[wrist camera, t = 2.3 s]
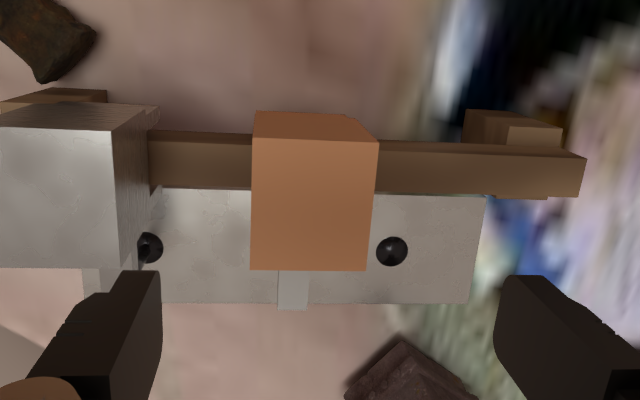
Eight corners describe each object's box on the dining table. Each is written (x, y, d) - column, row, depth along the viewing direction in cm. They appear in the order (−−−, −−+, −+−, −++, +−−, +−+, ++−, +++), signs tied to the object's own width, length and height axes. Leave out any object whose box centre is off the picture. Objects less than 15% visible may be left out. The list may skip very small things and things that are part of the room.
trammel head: (257, 92, 28) (252, 137, 17) (333, 96, 29) (379, 143, 17) (253, 261, 32) (246, 396, 20) (321, 262, 32) (352, 394, 21)
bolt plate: (79, 180, 30) (72, 185, 29) (480, 192, 34) (487, 198, 33) (90, 295, 33) (84, 303, 32) (462, 296, 36) (467, 304, 35)
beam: (52, 87, 29) (-31, 110, 21) (510, 111, 32) (592, 138, 24) (59, 154, 30) (-17, 201, 22) (499, 170, 33) (573, 216, 25)
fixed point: (93, 84, 27) (-35, 125, 16) (175, 88, 28) (110, 131, 16) (107, 260, 31) (11, 401, 19) (180, 260, 31) (130, 398, 20)
